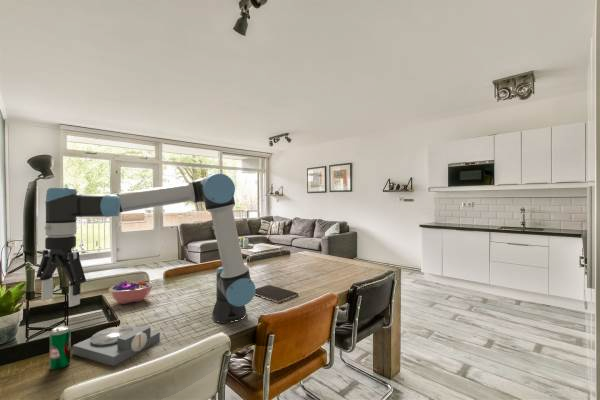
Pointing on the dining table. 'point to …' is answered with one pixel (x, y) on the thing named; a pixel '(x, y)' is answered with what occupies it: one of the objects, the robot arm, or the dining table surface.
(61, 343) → the soda can
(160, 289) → the dining table surface
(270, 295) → the hardcover book
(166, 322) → the dining table surface
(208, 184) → the robot arm
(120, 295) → the cell model
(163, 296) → the dining table surface
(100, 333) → the scale pan
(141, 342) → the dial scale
